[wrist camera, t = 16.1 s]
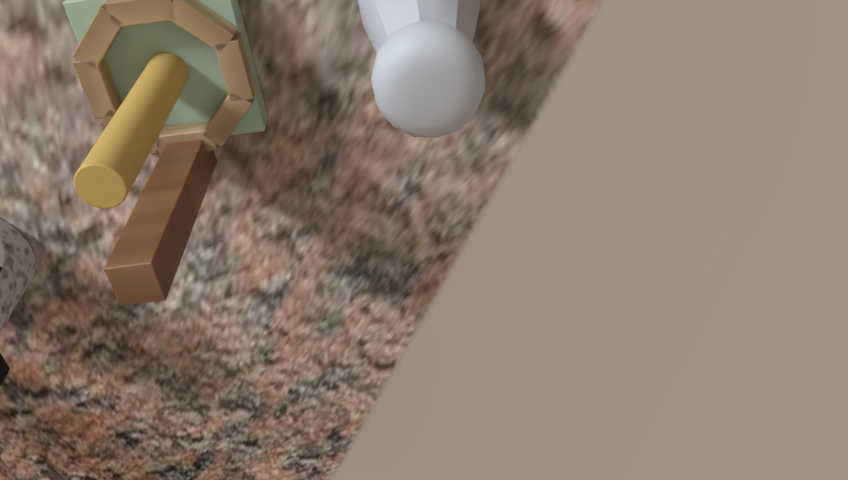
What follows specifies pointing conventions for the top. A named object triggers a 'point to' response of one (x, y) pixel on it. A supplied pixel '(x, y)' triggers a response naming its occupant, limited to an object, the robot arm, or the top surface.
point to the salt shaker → (425, 63)
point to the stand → (154, 95)
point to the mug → (13, 268)
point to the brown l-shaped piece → (164, 141)
